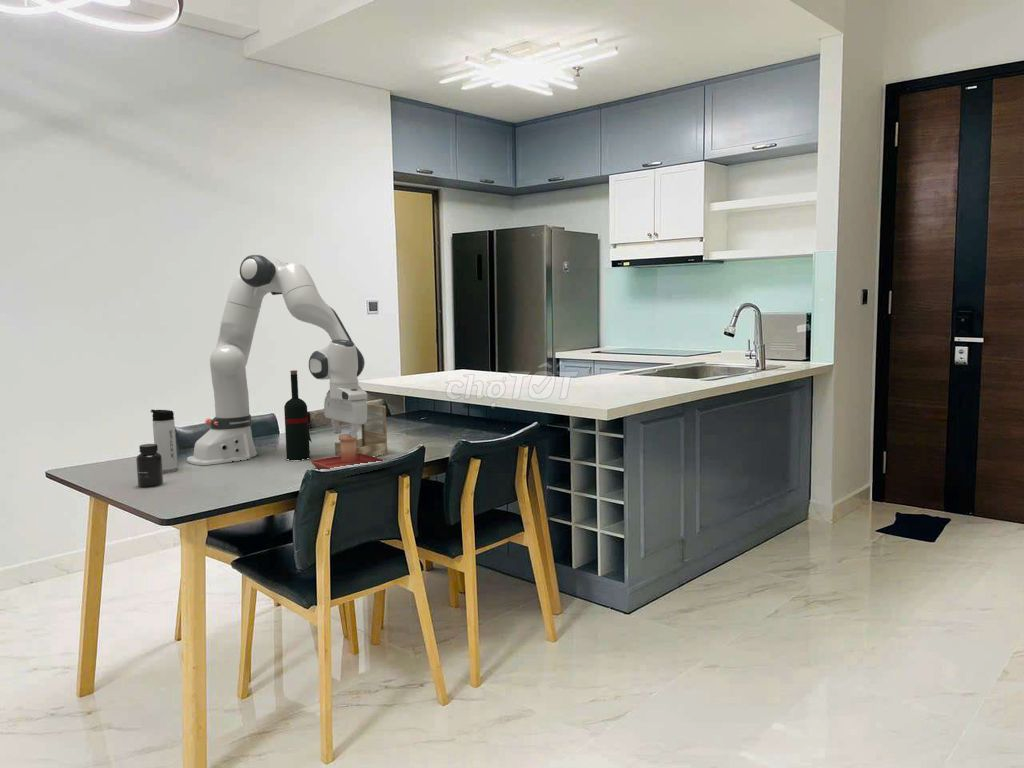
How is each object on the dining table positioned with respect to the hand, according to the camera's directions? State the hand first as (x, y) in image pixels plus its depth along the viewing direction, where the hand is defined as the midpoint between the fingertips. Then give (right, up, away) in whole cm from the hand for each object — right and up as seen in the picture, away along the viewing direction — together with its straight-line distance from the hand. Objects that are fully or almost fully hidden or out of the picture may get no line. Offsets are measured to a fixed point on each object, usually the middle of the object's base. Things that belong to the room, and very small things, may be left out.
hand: (345, 435), depth 241 cm
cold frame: (0, -8, +23) cm, 25 cm away
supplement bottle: (-54, -14, -14) cm, 58 cm away
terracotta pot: (+1, -8, +1) cm, 8 cm away
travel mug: (-58, -12, +3) cm, 59 cm away
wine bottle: (-19, -9, +20) cm, 29 cm away
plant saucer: (+1, -12, +2) cm, 12 cm away
